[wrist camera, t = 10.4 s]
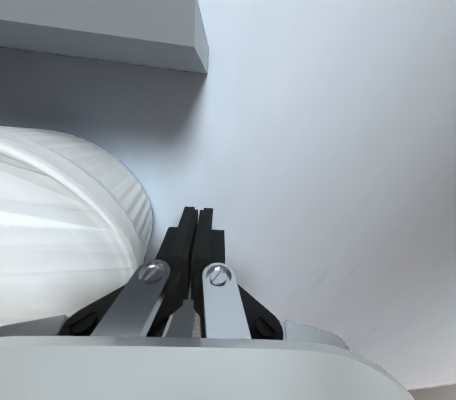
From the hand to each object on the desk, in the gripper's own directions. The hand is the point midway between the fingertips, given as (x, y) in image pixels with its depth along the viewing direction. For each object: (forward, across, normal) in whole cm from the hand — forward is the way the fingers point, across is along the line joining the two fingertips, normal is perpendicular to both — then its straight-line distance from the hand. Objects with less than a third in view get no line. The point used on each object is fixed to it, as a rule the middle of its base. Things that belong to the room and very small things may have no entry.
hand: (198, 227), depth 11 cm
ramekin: (+2, +8, 0) cm, 8 cm away
